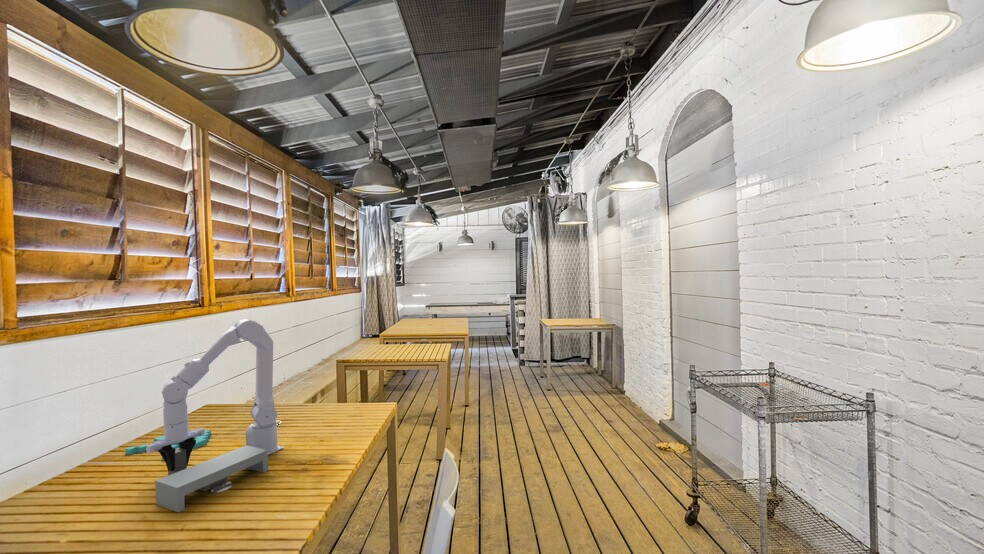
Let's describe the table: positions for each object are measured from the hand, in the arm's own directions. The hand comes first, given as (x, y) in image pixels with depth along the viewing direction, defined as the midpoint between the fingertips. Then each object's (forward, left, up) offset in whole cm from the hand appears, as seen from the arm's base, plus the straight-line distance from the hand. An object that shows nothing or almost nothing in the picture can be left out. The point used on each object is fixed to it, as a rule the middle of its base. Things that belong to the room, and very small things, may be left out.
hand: (178, 467), depth 125 cm
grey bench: (+19, 0, -2) cm, 19 cm away
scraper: (+8, 0, -2) cm, 8 cm away
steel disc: (+21, 0, -2) cm, 21 cm away
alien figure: (-26, +13, -3) cm, 29 cm away
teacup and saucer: (-14, +37, -2) cm, 39 cm away
